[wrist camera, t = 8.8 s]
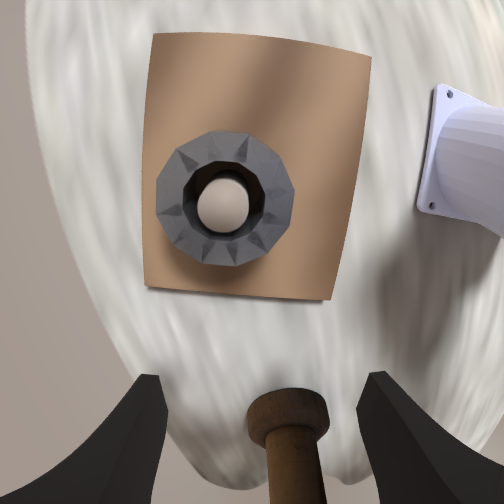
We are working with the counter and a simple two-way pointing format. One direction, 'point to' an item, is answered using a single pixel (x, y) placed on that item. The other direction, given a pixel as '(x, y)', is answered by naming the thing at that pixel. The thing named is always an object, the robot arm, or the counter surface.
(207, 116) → the post board
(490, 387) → the counter surface
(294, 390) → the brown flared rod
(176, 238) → the hub ring
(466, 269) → the counter surface
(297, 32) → the counter surface
